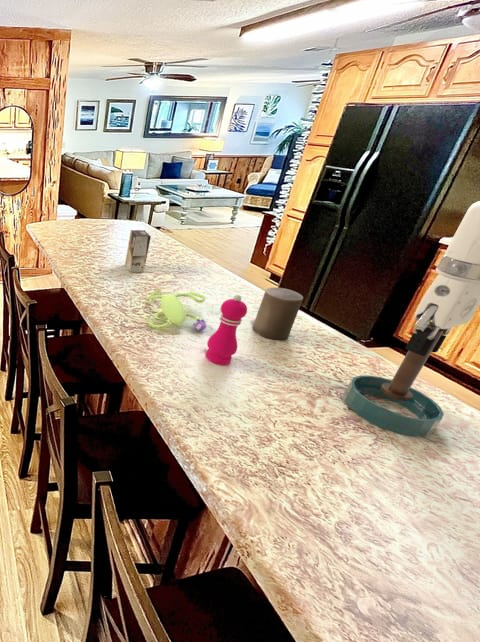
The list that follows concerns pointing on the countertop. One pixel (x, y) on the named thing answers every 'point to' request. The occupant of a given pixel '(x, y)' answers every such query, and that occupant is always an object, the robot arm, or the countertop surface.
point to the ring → (387, 419)
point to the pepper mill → (226, 332)
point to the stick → (407, 373)
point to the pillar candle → (277, 313)
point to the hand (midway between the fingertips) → (420, 349)
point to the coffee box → (137, 250)
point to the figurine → (175, 310)
